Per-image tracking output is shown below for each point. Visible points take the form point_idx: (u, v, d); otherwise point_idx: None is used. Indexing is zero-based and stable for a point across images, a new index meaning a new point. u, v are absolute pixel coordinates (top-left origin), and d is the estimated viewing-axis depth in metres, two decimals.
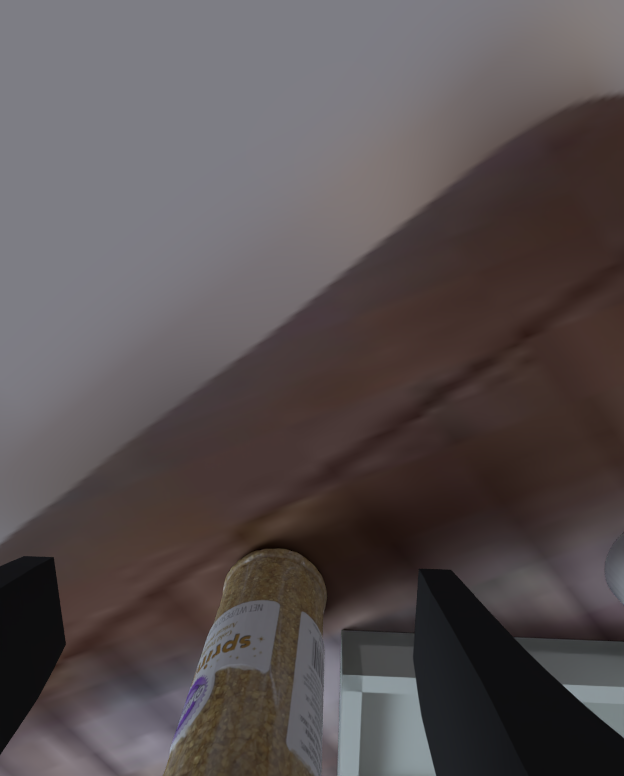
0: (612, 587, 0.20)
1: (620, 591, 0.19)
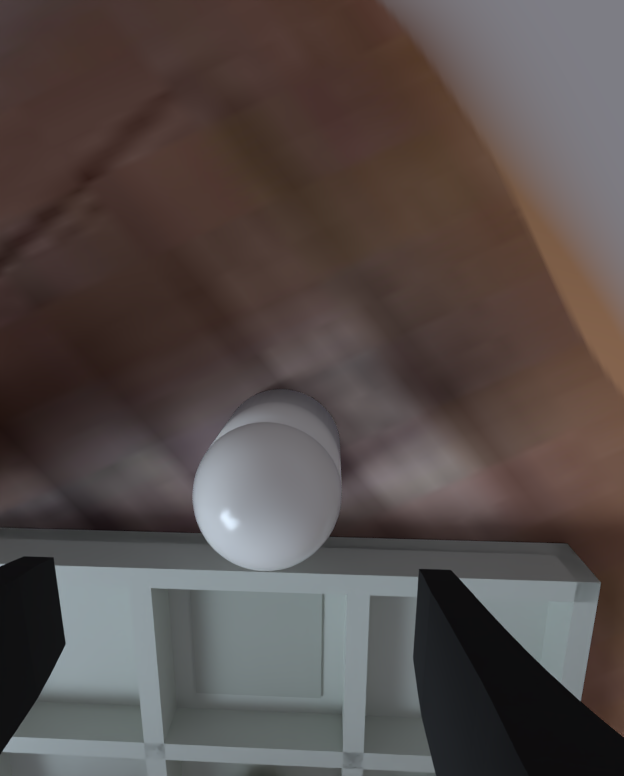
0: None
1: None
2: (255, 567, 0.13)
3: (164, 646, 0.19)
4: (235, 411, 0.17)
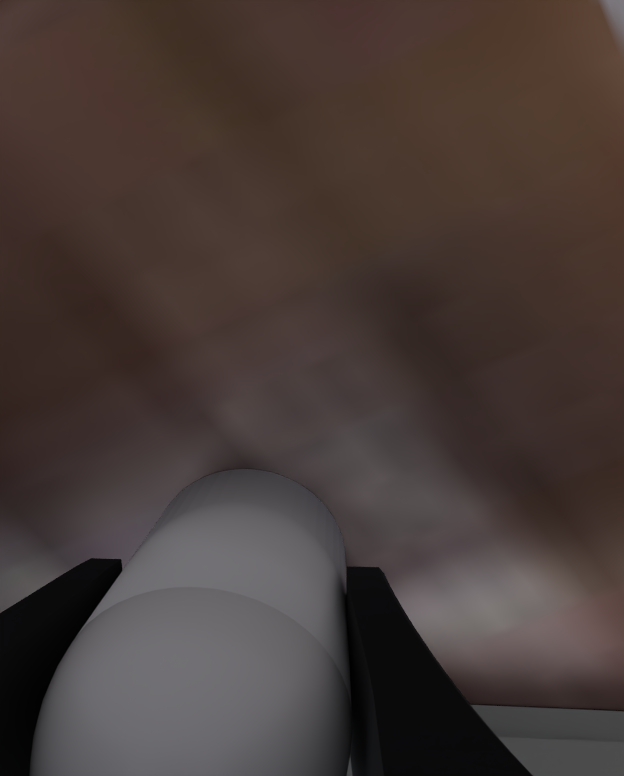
0: None
1: None
2: None
3: None
4: (166, 509, 0.10)
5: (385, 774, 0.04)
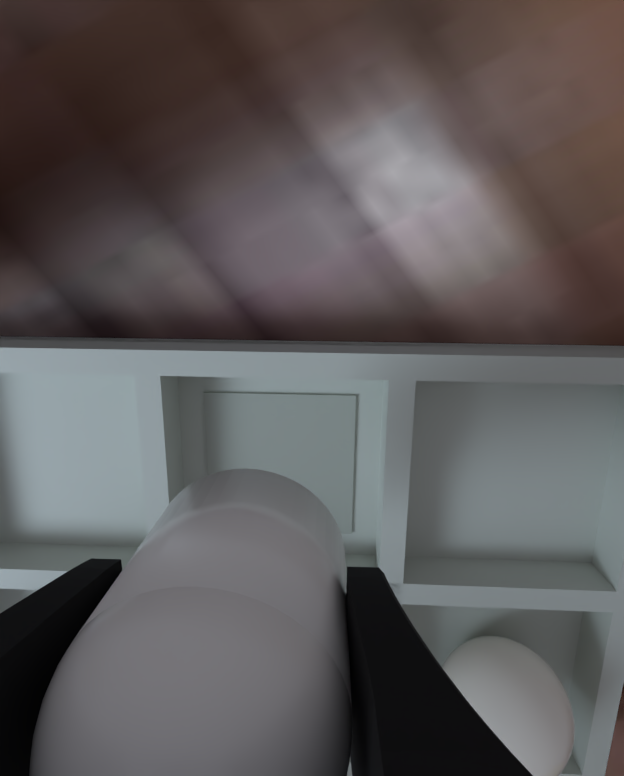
0: None
1: None
2: None
3: (174, 462, 0.16)
4: (166, 509, 0.10)
5: (385, 774, 0.04)
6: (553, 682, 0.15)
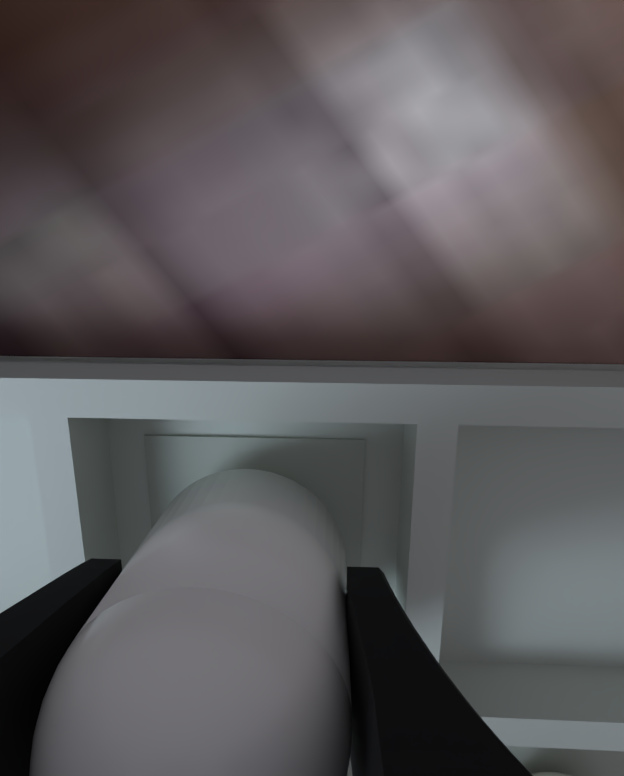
0: None
1: None
2: None
3: (101, 537, 0.11)
4: (166, 509, 0.10)
5: (385, 774, 0.04)
6: None
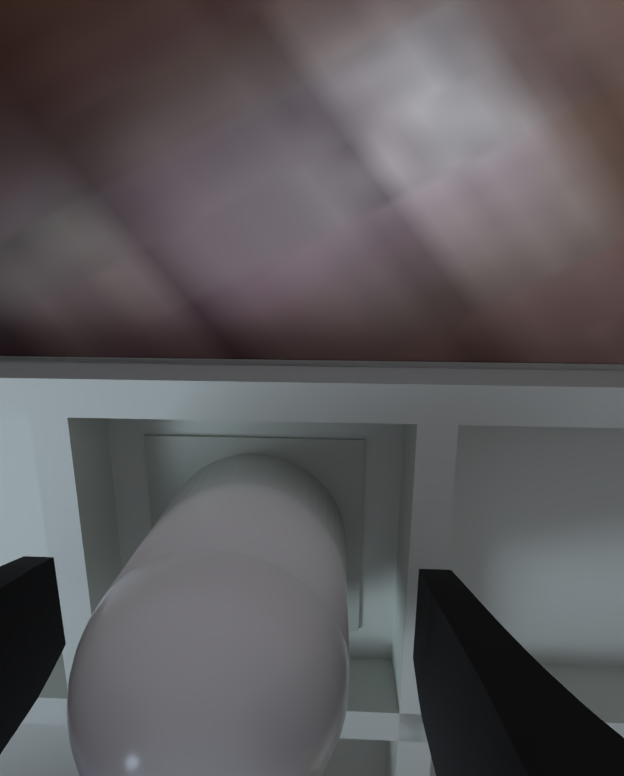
0: None
1: None
2: None
3: (101, 537, 0.11)
4: (179, 491, 0.11)
5: None
6: None
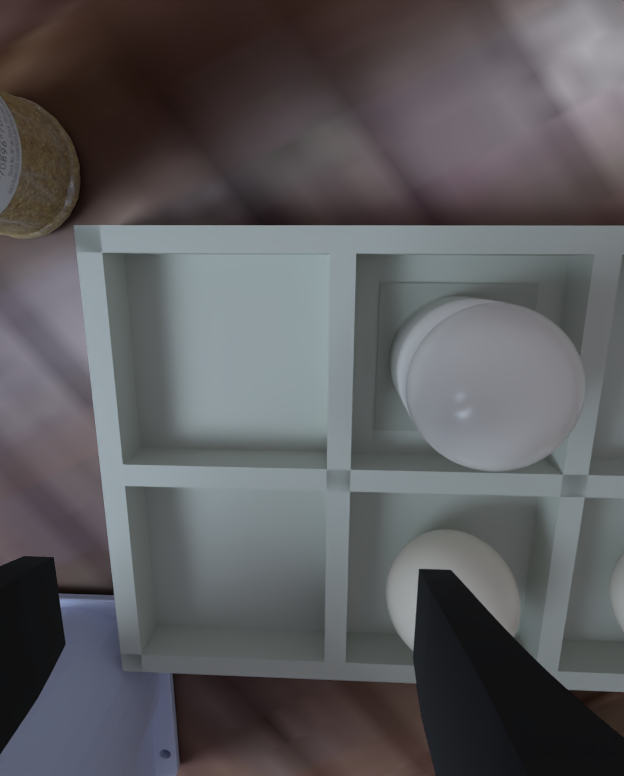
0: (394, 385, 0.16)
1: (394, 381, 0.16)
2: (499, 460, 0.11)
3: None
4: (410, 318, 0.16)
5: None
6: None
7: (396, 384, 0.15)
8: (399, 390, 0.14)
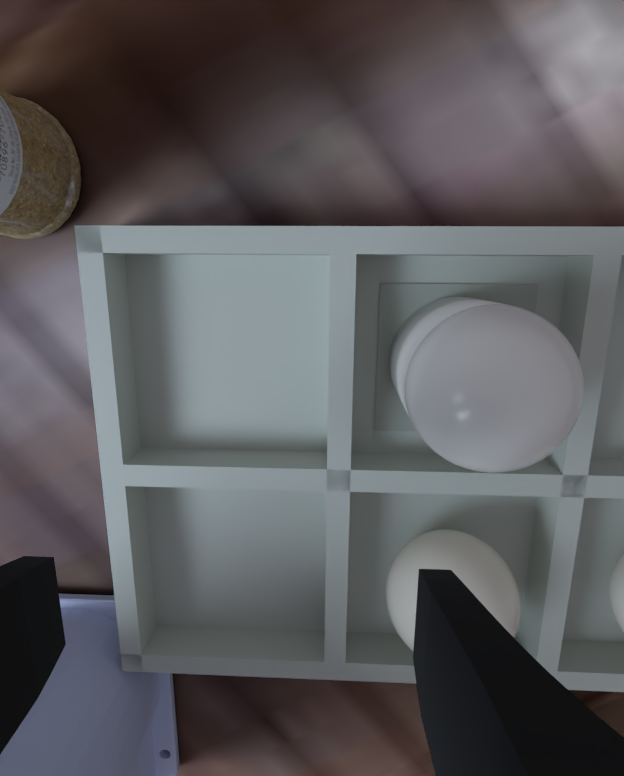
0: (394, 385, 0.16)
1: (393, 381, 0.16)
2: (497, 462, 0.11)
3: None
4: (410, 318, 0.16)
5: None
6: None
7: (395, 384, 0.15)
8: (398, 390, 0.14)
